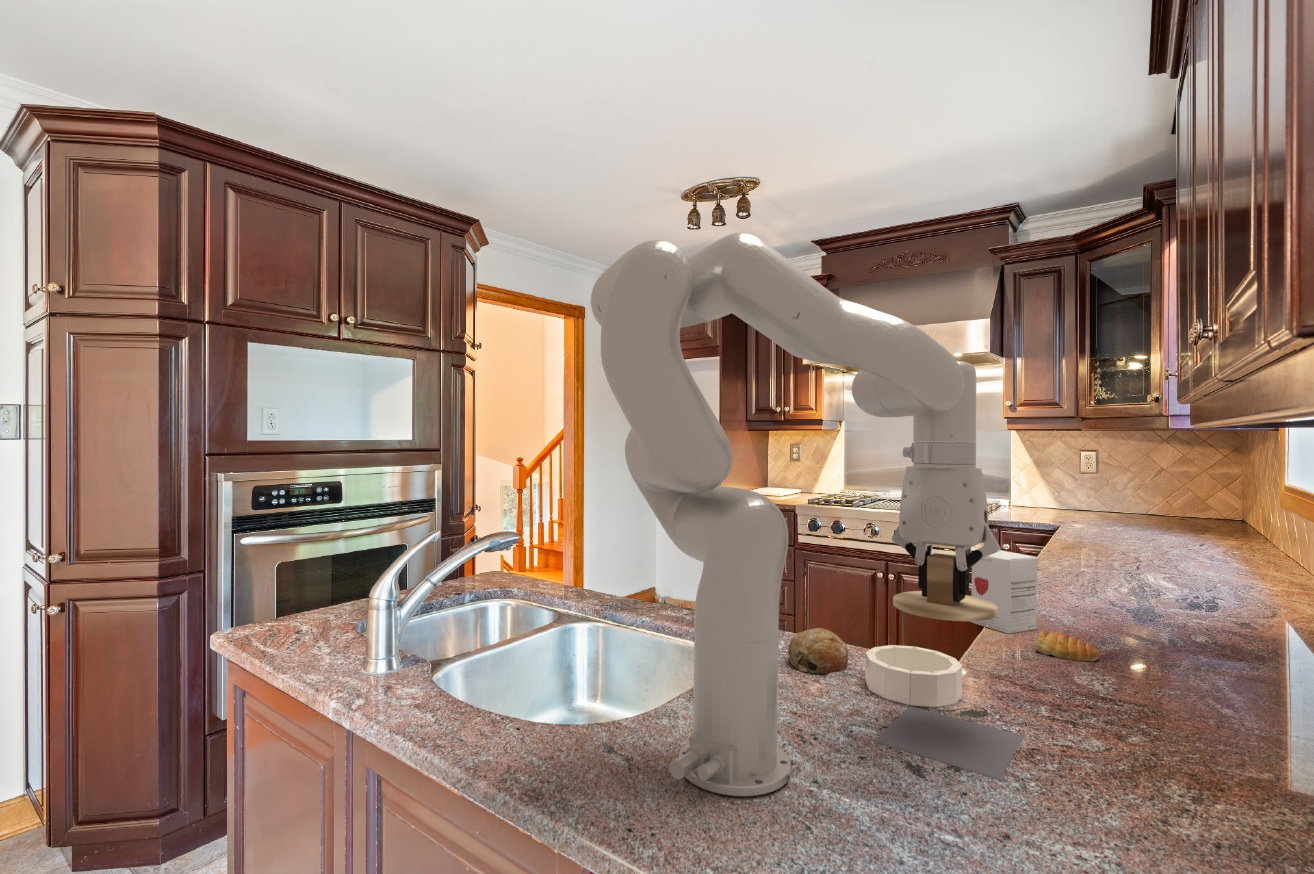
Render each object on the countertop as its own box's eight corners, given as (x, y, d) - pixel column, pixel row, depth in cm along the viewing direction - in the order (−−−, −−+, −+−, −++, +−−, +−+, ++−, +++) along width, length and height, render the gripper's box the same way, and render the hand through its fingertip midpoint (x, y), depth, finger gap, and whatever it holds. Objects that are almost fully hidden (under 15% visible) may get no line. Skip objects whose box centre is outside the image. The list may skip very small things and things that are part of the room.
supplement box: (969, 622, 137) (969, 551, 137) (998, 618, 141) (999, 549, 141) (1008, 634, 129) (1009, 558, 129) (1038, 629, 133) (1039, 556, 133)
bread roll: (783, 687, 109) (778, 649, 106) (798, 645, 117) (794, 609, 114) (843, 698, 104) (839, 659, 101) (855, 654, 112) (852, 617, 109)
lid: (981, 627, 76) (982, 569, 76) (878, 608, 84) (878, 556, 84) (1008, 607, 86) (1008, 555, 86) (912, 592, 94) (912, 545, 94)
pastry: (1101, 657, 116) (1101, 636, 116) (1095, 667, 111) (1095, 645, 111) (1041, 646, 122) (1041, 625, 122) (1033, 654, 117) (1033, 633, 117)
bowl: (945, 718, 88) (946, 681, 88) (853, 693, 97) (853, 660, 97) (970, 691, 98) (970, 657, 99) (884, 670, 107) (884, 640, 107)
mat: (999, 785, 71) (999, 779, 71) (873, 745, 80) (873, 740, 80) (1024, 740, 82) (1024, 736, 82) (910, 710, 91) (910, 706, 91)
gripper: (871, 455, 88) (870, 592, 88) (1006, 458, 77) (1005, 614, 77) (892, 455, 93) (892, 583, 93) (1021, 457, 82) (1020, 602, 82)
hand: (943, 595), depth 85 cm, fingers closed on lid, 3 cm apart
